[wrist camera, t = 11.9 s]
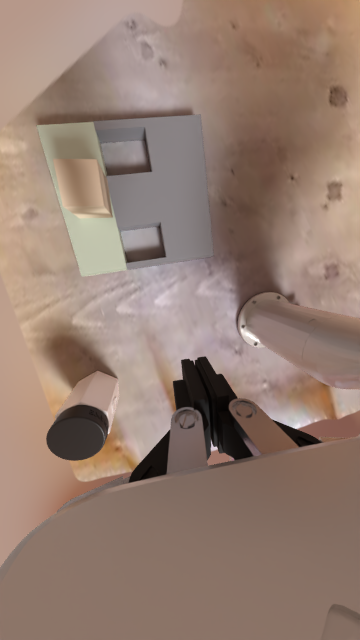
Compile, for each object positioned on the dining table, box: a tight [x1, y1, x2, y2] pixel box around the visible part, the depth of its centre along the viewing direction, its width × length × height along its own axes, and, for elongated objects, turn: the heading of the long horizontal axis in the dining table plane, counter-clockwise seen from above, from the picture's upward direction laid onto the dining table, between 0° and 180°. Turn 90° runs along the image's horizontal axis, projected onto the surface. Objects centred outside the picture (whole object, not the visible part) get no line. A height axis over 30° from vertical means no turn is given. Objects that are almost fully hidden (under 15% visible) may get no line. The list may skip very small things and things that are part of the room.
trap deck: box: [36, 115, 214, 276], centre depth 28 cm, size 23×20×2 cm
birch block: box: [53, 159, 113, 218], centre depth 24 cm, size 5×5×5 cm
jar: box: [46, 371, 119, 461], centre depth 31 cm, size 9×8×12 cm
